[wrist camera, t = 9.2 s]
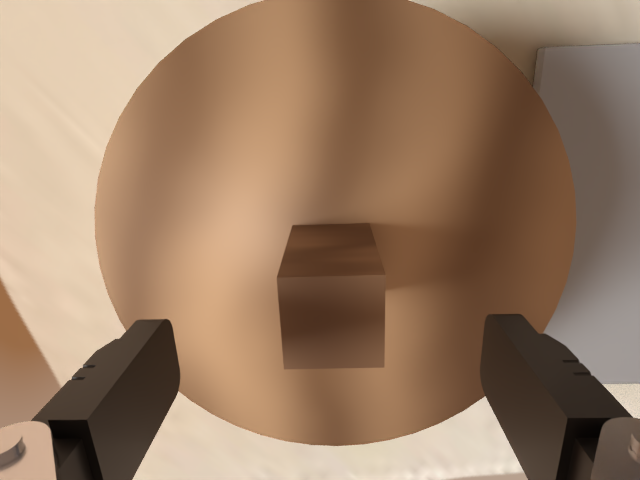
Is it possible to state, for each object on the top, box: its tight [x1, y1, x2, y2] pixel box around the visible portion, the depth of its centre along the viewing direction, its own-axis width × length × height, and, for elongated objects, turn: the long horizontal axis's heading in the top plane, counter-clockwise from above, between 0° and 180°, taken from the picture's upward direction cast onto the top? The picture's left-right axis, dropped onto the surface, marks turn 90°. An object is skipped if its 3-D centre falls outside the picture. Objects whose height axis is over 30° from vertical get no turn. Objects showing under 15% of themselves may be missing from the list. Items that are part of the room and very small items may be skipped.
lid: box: [95, 0, 576, 446], centre depth 15 cm, size 19×19×6 cm
